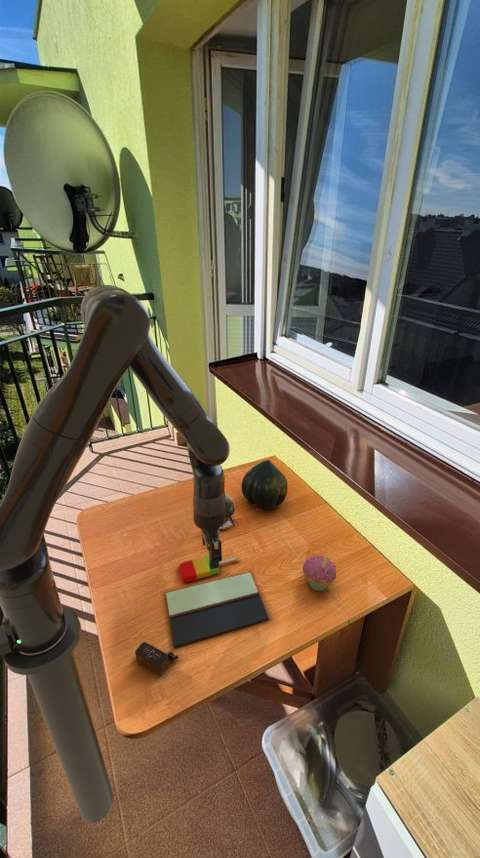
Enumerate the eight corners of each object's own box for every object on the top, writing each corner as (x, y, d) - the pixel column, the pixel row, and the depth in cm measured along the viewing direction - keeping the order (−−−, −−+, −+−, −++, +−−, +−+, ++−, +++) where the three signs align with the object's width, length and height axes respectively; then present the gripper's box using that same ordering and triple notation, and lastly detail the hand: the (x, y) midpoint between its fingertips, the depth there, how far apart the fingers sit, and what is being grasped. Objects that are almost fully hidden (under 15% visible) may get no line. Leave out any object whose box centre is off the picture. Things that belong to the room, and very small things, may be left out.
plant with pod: (219, 539, 108) (220, 481, 99) (199, 518, 115) (198, 462, 106) (243, 528, 113) (245, 472, 103) (222, 508, 120) (223, 454, 111)
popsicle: (178, 568, 97) (177, 562, 97) (233, 553, 104) (233, 548, 103) (182, 584, 93) (182, 579, 92) (240, 567, 99) (240, 562, 98)
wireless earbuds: (163, 679, 73) (162, 669, 72) (135, 662, 76) (133, 652, 74) (179, 658, 77) (178, 649, 75) (151, 643, 79) (150, 633, 78)
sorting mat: (174, 648, 79) (174, 645, 78) (166, 594, 90) (165, 591, 90) (268, 619, 86) (268, 617, 86) (250, 573, 98) (250, 571, 97)
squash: (254, 510, 112) (281, 467, 113) (225, 488, 122) (251, 448, 123) (279, 521, 123) (304, 482, 124) (251, 500, 132) (274, 464, 134)
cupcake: (340, 589, 96) (348, 554, 90) (312, 602, 92) (319, 566, 86) (321, 565, 102) (327, 532, 97) (294, 576, 98) (299, 541, 93)
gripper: (188, 490, 93) (190, 539, 101) (199, 528, 82) (201, 580, 89) (218, 485, 96) (218, 534, 104) (232, 521, 85) (232, 573, 92)
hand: (210, 555), depth 97 cm, fingers open, 8 cm apart
